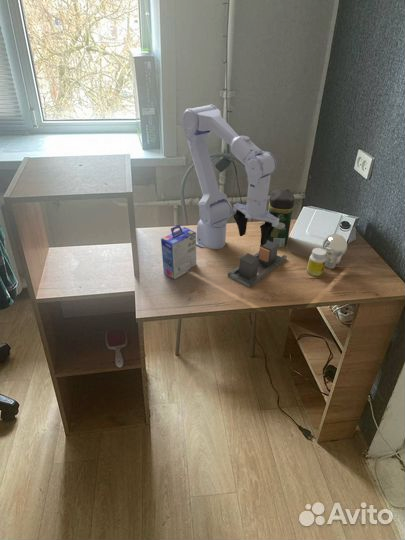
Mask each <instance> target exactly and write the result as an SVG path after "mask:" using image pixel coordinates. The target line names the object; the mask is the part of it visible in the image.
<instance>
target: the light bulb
mask: <svg viewBox="0 0 405 540" xmlns="http://www.w3.org/2000/svg"><path fill="white" fill-rule="evenodd" d="M322 249H324V250H325V251H326V256H325V258H326V261H325V265H324V268H326V269H331V270H333V269H335V268H336V265H337V262H338V261H339V259H340V258H341V257H342V256H343V255H344V254H345V253H346V252H347V249H348V243H347V240H346V238H345V237H344V236H342V235H341V234H338V233H337V234H336V233H334V234H330V235H328V236H327V237H326V238H324V240H323V242H322Z"/></svg>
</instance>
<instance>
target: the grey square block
mask: <svg viewBox="0 0 405 540" xmlns="http://www.w3.org/2000/svg"><path fill="white" fill-rule="evenodd" d="M253 255H254V254H251V253H249V252H248V253H246V254H245V255H243V256H241V257H240V258H239V262H238V266H239V273H238V275H239V276H241V277H243V278H245V279H247V280H249V281H250V280H251V279H252V278H254V277H255V276H256V275H257V271H258V263H259V258H258V257H255V256H253Z"/></svg>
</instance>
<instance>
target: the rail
mask: <svg viewBox="0 0 405 540" xmlns="http://www.w3.org/2000/svg"><path fill="white" fill-rule="evenodd" d="M252 255H253V256H255V257H258V258H259V251H258V252H256V253H255V254H252ZM286 260H287V255H285V254H284V255H282V256H280V255H278V254H277V256H276V261H275V262H274V263H272V264H271V265H270V266H268V265H265V264H263V263H261V262H259V263H258V271H257V275H256V276H255V277H254V278H252V279H251V280H250V281H249V280H247V279H245V278H243V277H241V276H239V275H238V273H239V265H238V266H236V267H235V268H234V269H232V270H230V271H229V272H227V277H228V278H229V279H231V280H233V281H235V282H237V283H239V284H241V285H243V286H246V287H247V288H249V289H251V287H253V286H254V285H256V284H257V283H258V282H260V281H261V280H262V279H264V277H266V276H267V275H268V274H270V273H271V272H272V271H273V270H274V269H277V267H278V266H280V265H281V264H283V262H285V261H286Z"/></svg>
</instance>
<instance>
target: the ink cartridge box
mask: <svg viewBox="0 0 405 540" xmlns="http://www.w3.org/2000/svg"><path fill="white" fill-rule="evenodd" d="M176 229H178V230H176ZM175 230H176V231H175ZM170 232H171V233H170V234H168V235H166V236H164V237H161V238H160V242H161V243H160V244H161V254H162V255H161V256H162V267H163V270H162V271H163V274H164V275H166V276H168V277H169V278H171V279H173V280H176V279H177V278H179V277H181V276H183V275H185V274H186V273H188V272H190V269H191V268H193V267H194V266H196V265H197V245H196V242H197V231H194V230H191V229H189V228H187V227H185V226H183V227H182V226H181V225H180V224H177V225H175V226H174V227H173V226H172V228H170Z"/></svg>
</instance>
